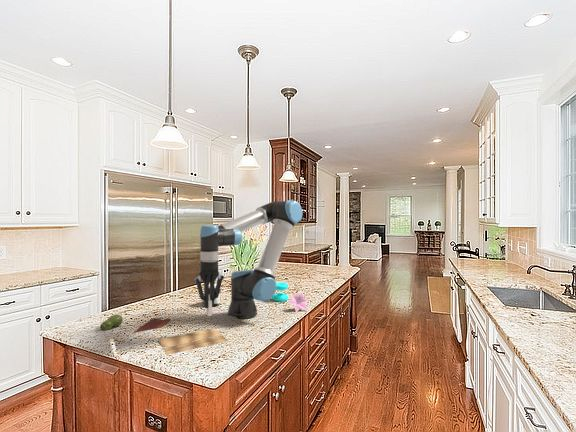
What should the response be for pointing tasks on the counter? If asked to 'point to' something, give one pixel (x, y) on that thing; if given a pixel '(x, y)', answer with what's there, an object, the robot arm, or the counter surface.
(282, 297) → the donuts
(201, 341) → the laid boards
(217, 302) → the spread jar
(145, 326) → the wooden tablet
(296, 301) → the lily
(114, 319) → the pear
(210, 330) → the plank
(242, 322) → the counter surface
